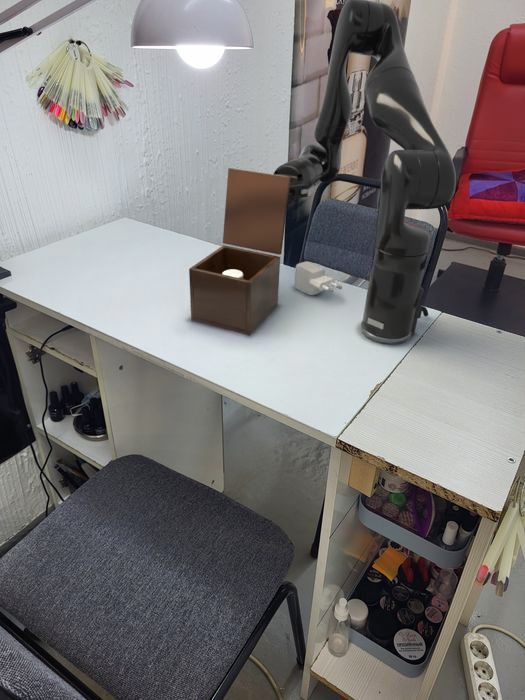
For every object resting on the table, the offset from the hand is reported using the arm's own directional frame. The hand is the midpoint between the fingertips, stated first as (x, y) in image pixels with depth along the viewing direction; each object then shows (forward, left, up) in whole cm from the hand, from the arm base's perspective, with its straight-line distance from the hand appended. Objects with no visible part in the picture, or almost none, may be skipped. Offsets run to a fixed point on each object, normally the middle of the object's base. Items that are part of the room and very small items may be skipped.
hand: (263, 196), depth 103 cm
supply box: (+9, +8, -20) cm, 24 cm away
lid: (+3, +3, -2) cm, 5 cm away
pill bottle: (+10, +9, -20) cm, 24 cm away
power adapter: (-10, +7, -21) cm, 24 cm away
